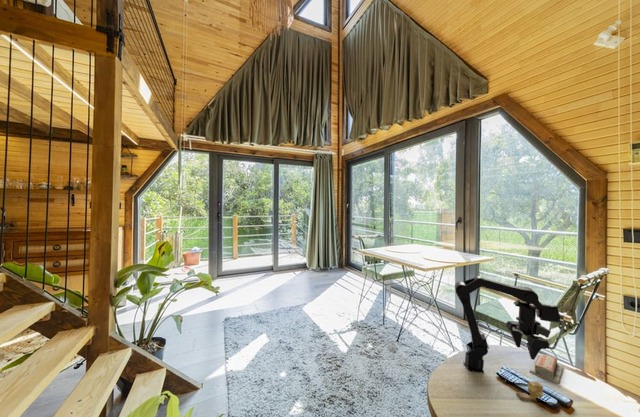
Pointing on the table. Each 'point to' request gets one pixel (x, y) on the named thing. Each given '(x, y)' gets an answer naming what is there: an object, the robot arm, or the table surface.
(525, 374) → the ticket
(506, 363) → the table surface
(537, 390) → the stub
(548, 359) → the packaged product
